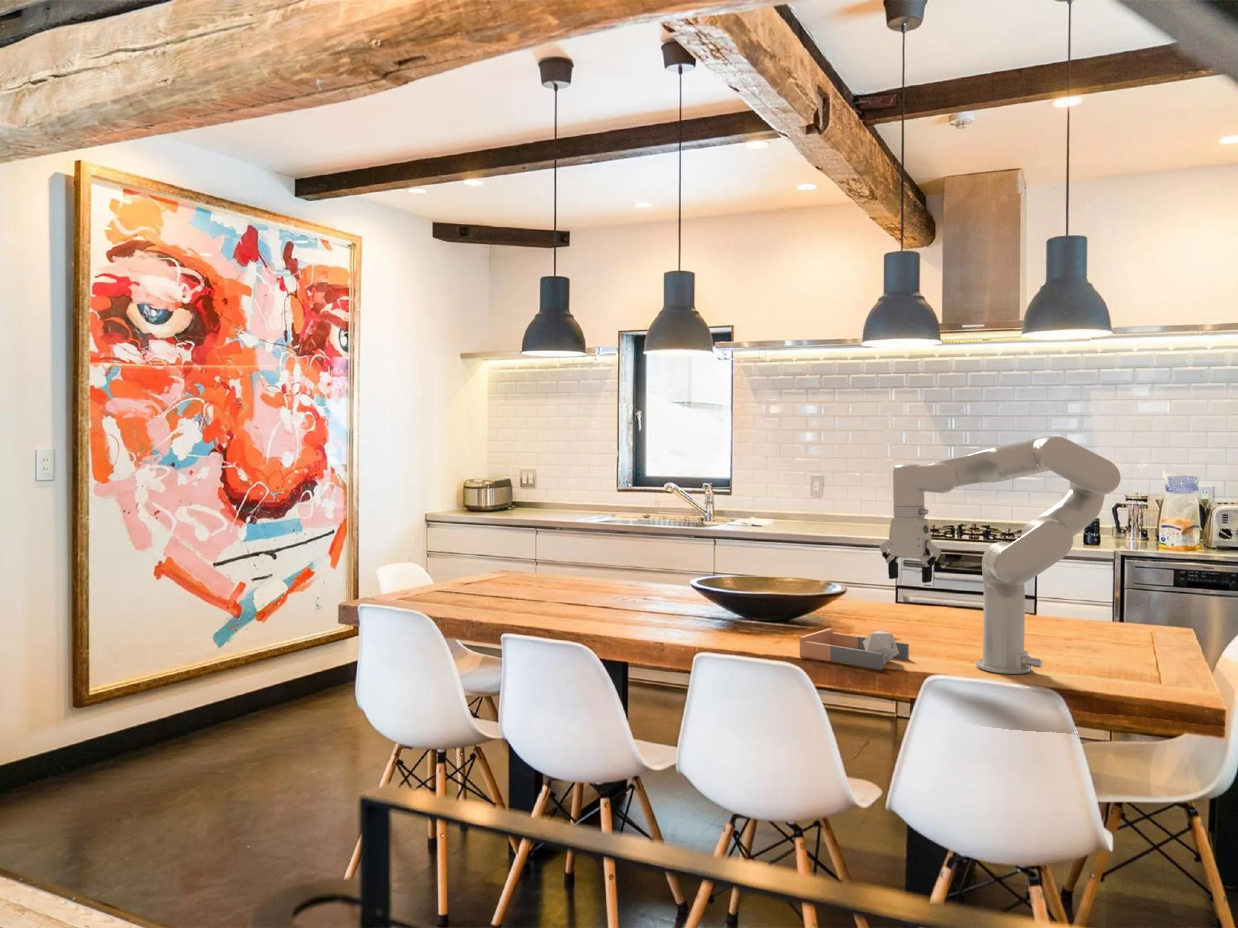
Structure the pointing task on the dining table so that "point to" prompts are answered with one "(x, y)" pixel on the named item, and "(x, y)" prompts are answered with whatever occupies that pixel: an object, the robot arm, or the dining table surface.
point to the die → (882, 645)
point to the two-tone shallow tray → (845, 649)
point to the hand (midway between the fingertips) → (909, 580)
